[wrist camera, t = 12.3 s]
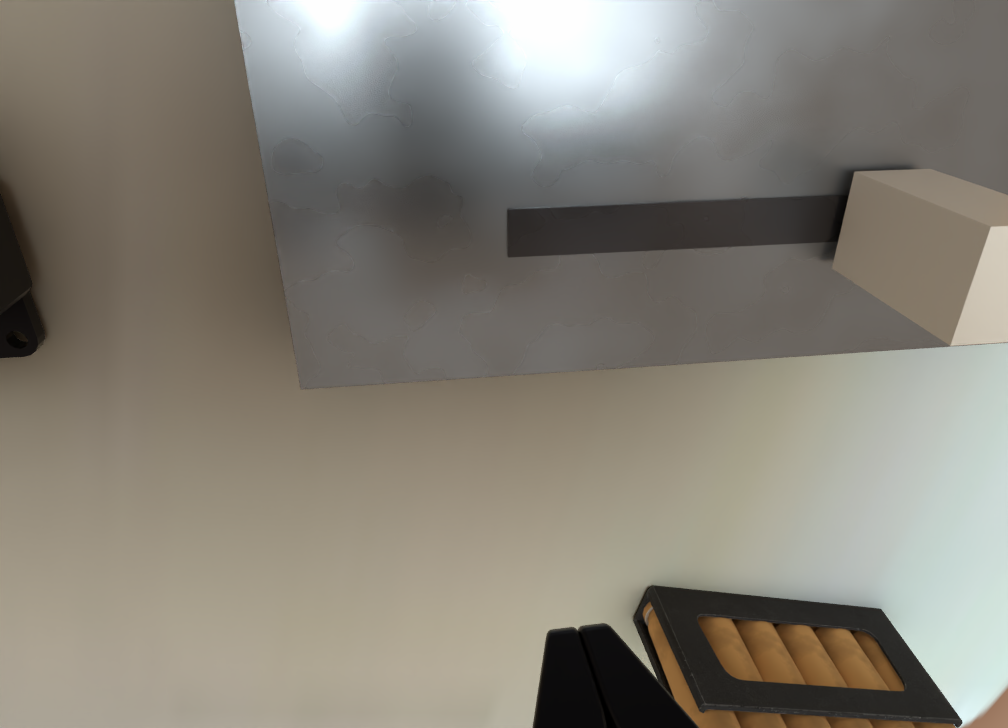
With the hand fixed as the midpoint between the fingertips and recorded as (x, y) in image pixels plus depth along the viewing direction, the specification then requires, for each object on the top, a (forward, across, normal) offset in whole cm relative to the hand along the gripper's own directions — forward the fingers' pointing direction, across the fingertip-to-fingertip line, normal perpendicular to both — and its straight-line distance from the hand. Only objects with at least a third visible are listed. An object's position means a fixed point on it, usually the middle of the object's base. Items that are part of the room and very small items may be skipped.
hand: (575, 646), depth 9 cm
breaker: (+10, -10, -2) cm, 14 cm away
